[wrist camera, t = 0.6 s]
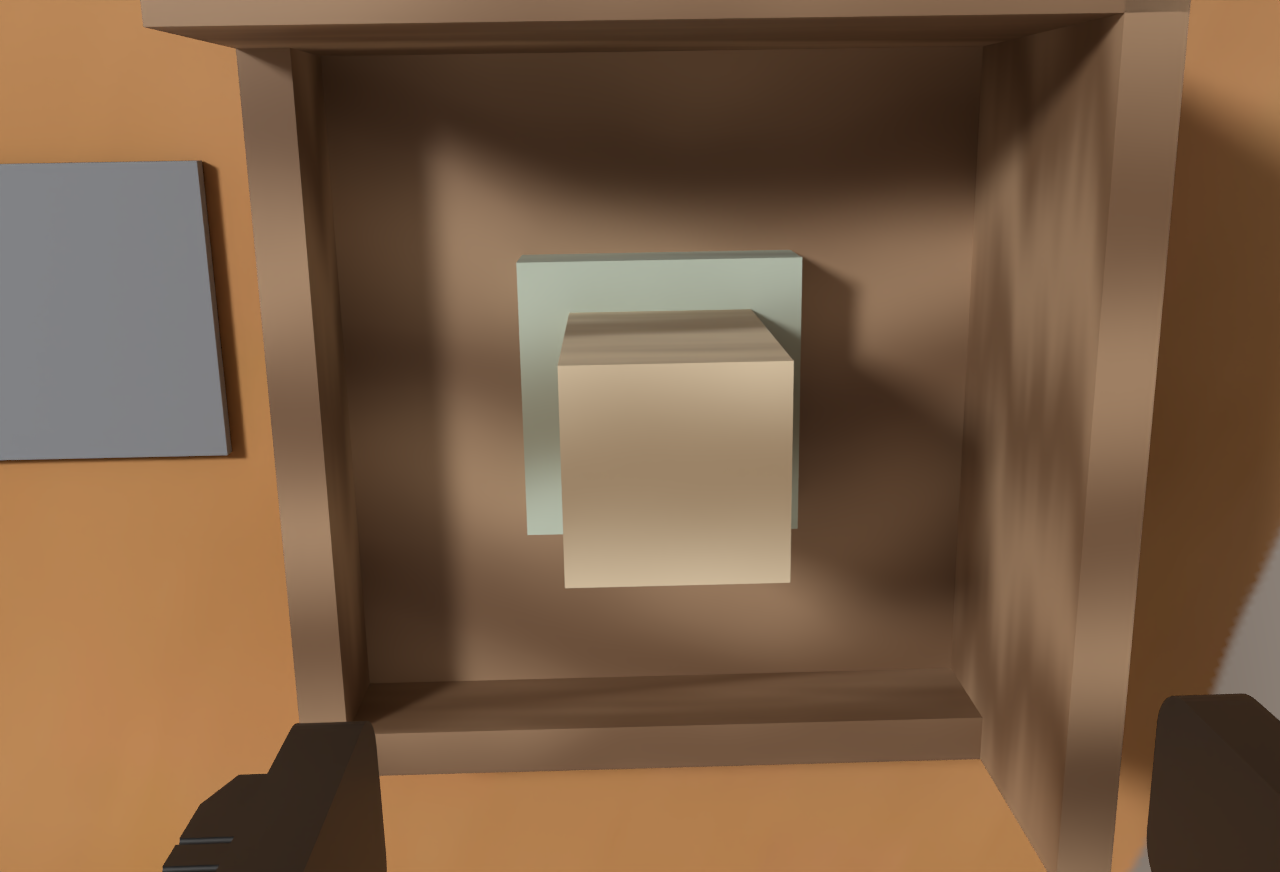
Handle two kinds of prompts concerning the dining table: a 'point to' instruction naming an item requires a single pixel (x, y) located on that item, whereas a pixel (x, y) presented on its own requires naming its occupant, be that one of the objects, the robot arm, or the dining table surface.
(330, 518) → the crate
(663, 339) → the maple block
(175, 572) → the dining table surface
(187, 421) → the felt pad
